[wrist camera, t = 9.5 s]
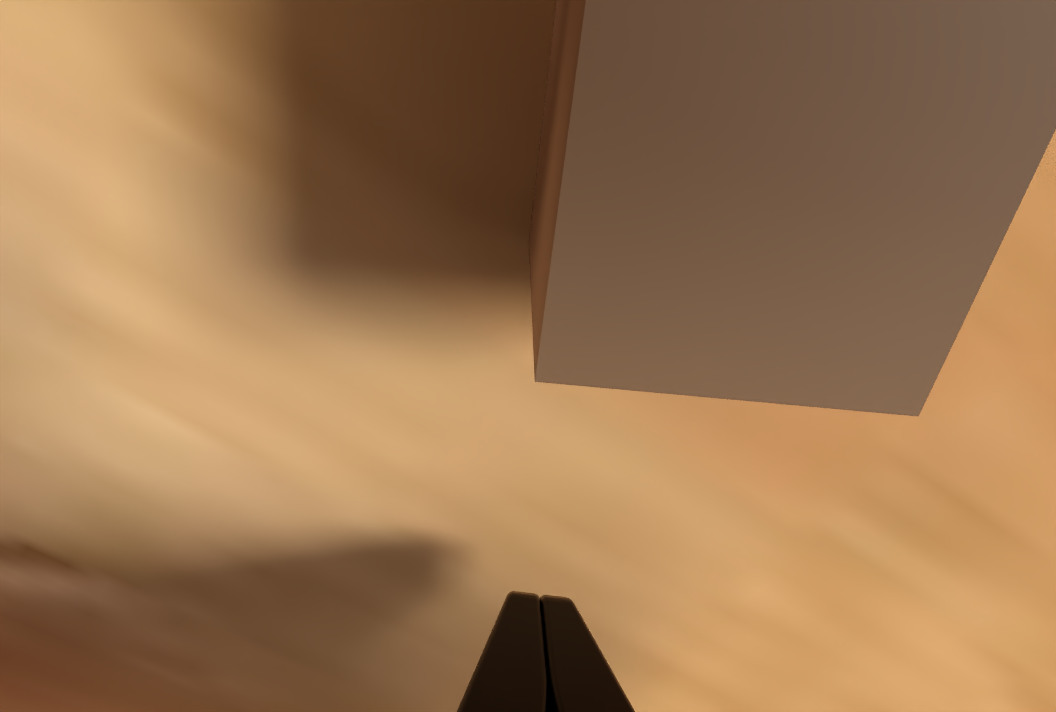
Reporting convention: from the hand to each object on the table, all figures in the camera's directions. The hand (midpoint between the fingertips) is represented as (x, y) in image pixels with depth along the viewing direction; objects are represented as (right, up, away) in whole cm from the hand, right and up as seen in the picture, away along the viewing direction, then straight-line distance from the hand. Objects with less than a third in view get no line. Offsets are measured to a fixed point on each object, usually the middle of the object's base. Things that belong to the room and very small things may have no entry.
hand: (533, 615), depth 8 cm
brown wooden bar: (+2, +13, -5) cm, 14 cm away
